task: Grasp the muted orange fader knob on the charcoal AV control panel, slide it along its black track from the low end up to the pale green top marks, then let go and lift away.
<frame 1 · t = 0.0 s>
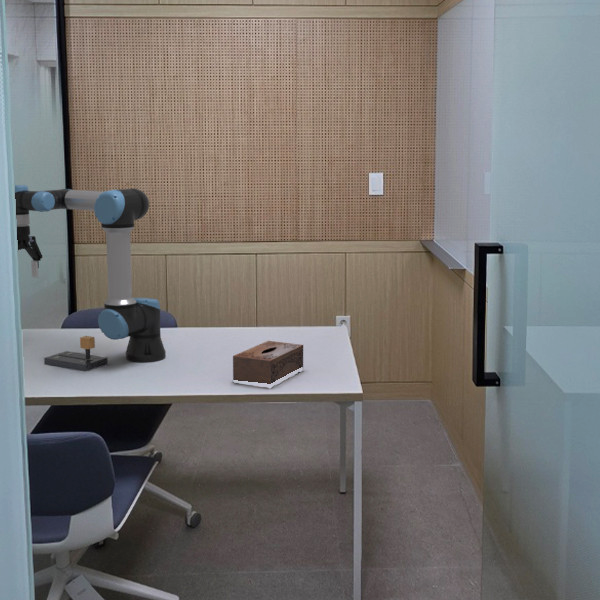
hand: (22, 279, 351), 28 cm above the table, fingers open, 13 cm apart
AV control panel: (76, 364, 334), on the table
tissue box cover: (269, 378, 319), on the table
dimmer fader: (87, 348, 330), point 7 cm above the table, slide at -6.0 cm
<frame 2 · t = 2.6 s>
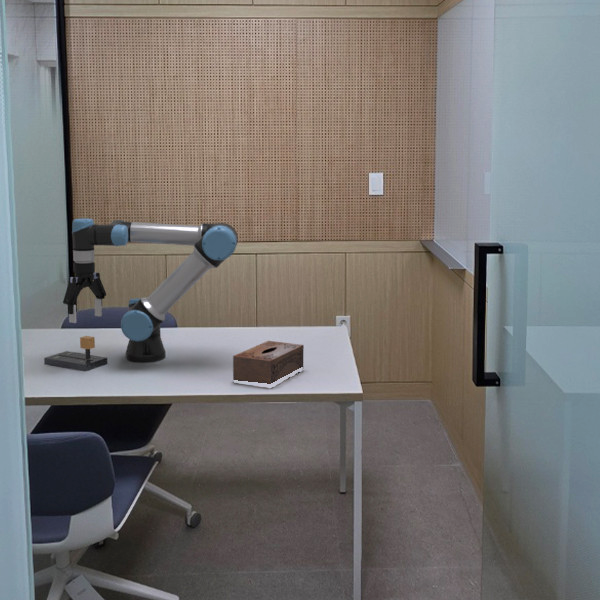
hand: (85, 319, 328), 18 cm above the table, fingers open, 13 cm apart
nothing on the table moved.
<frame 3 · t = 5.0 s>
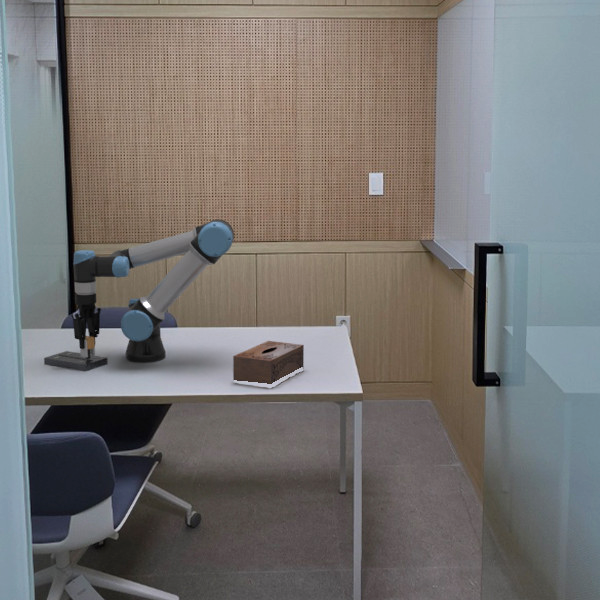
hand: (87, 355, 331), 4 cm above the table, fingers closed on dimmer fader, 3 cm apart
dimmer fader: (87, 348, 330), point 7 cm above the table, slide at -6.0 cm, touching gripper
everything else where it was.
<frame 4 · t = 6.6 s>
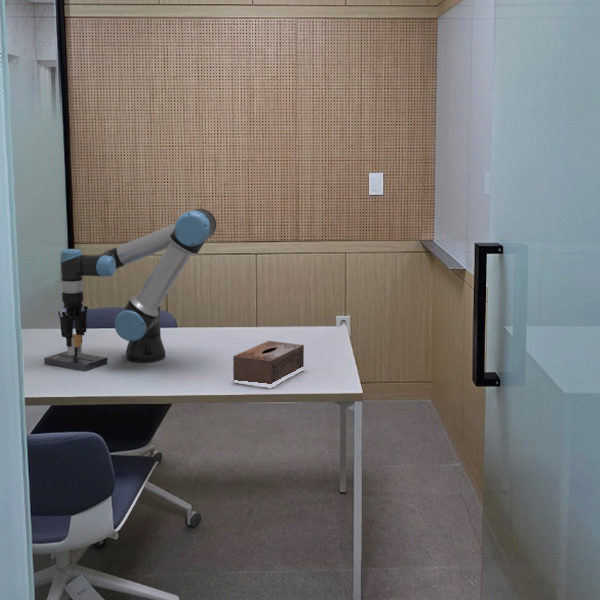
hand: (74, 353, 334), 4 cm above the table, fingers closed on dimmer fader, 3 cm apart
dimmer fader: (74, 345, 333), point 7 cm above the table, slide at 0.3 cm, touching gripper
everything else where it was.
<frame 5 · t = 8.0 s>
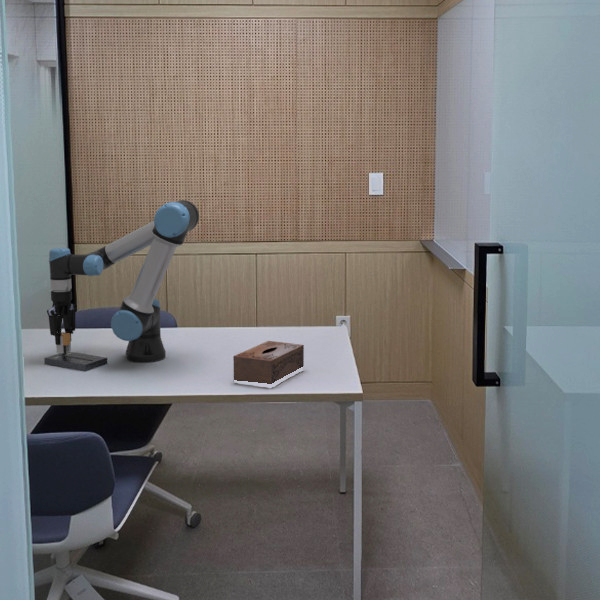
hand: (63, 351, 336), 4 cm above the table, fingers closed on dimmer fader, 3 cm apart
dimmer fader: (63, 344, 336), point 7 cm above the table, slide at 5.8 cm, touching gripper
everything else where it was.
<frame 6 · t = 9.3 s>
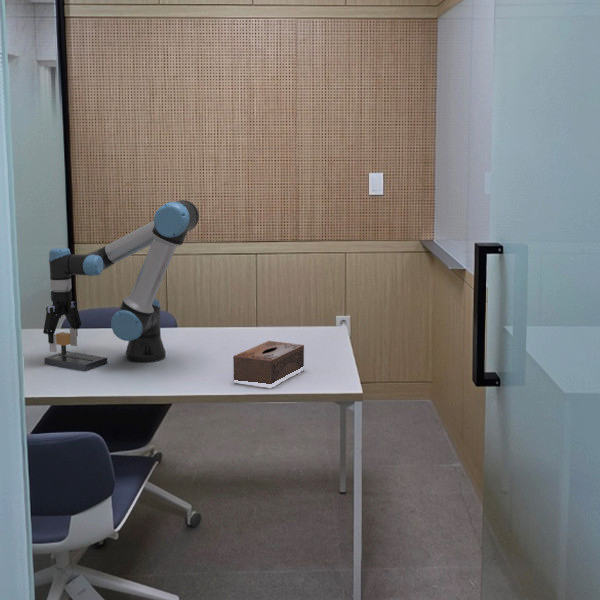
hand: (63, 348, 336), 5 cm above the table, fingers open, 10 cm apart
dimmer fader: (63, 344, 336), point 7 cm above the table, slide at 5.8 cm
everything else where it was.
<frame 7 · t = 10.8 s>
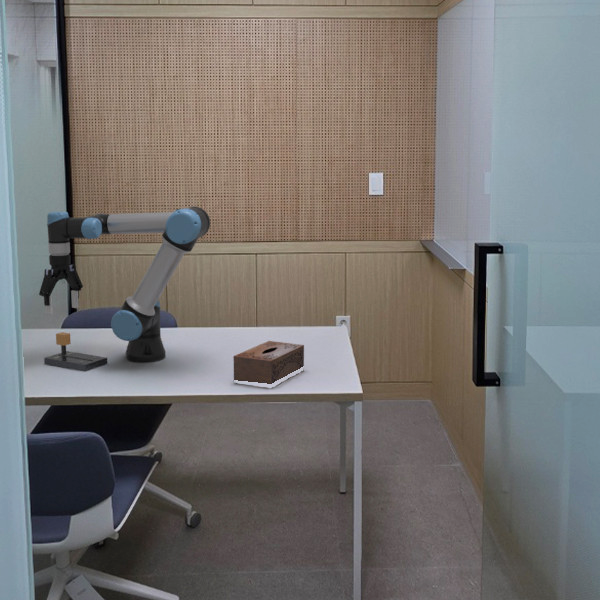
hand: (62, 311, 333), 20 cm above the table, fingers open, 13 cm apart
nothing on the table moved.
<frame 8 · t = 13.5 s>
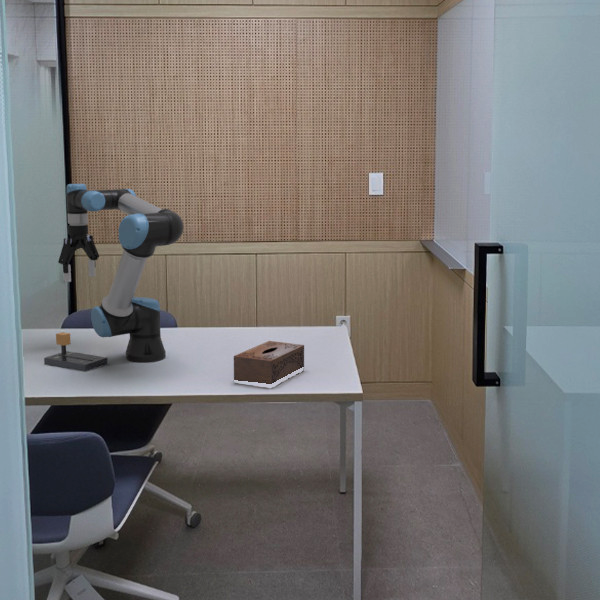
hand: (80, 279, 349), 29 cm above the table, fingers open, 13 cm apart
nothing on the table moved.
at the end: dimmer fader slide at 5.8 cm; the gripper is holding nothing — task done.
